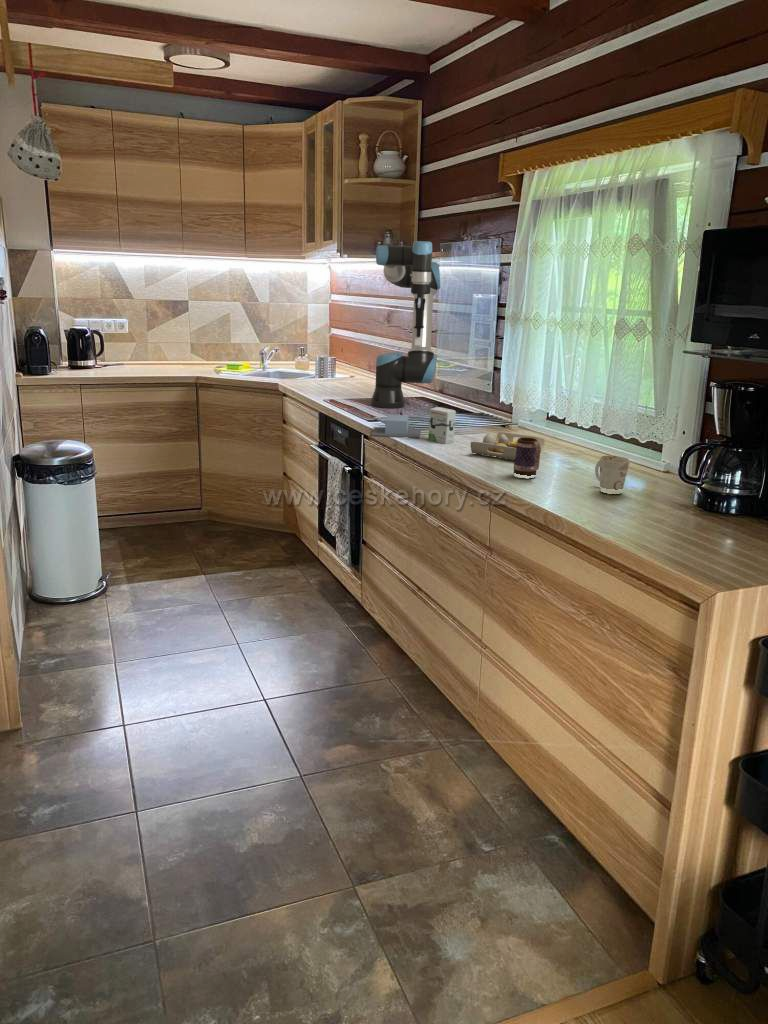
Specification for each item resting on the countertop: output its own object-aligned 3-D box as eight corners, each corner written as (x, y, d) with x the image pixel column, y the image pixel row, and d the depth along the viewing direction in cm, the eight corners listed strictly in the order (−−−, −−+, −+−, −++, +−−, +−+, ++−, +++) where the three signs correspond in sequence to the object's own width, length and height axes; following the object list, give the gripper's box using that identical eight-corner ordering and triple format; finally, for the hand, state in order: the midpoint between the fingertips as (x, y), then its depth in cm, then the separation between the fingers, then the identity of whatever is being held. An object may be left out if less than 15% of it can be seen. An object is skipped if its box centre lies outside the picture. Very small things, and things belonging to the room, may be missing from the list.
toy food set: (519, 464, 259) (521, 441, 257) (468, 456, 268) (470, 434, 265) (545, 450, 280) (547, 429, 278) (497, 443, 288) (499, 422, 286)
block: (388, 414, 305) (385, 420, 293) (408, 415, 304) (406, 421, 293) (387, 427, 306) (385, 433, 295) (408, 428, 306) (406, 434, 294)
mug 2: (508, 474, 245) (511, 436, 241) (529, 473, 247) (532, 435, 244) (524, 482, 236) (528, 443, 232) (545, 481, 238) (549, 442, 234)
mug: (608, 497, 223) (612, 463, 220) (581, 486, 234) (584, 453, 231) (631, 495, 227) (636, 461, 224) (603, 483, 237) (607, 451, 234)
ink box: (427, 440, 288) (429, 408, 285) (436, 438, 292) (437, 406, 288) (446, 444, 283) (447, 411, 279) (454, 442, 286) (456, 410, 282)
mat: (374, 428, 306) (374, 427, 305) (420, 430, 304) (421, 429, 304) (370, 436, 292) (370, 434, 292) (419, 438, 291) (419, 437, 291)
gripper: (412, 282, 312) (410, 342, 320) (409, 283, 300) (407, 346, 308) (431, 282, 312) (428, 343, 319) (429, 284, 299) (426, 347, 307)
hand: (418, 344), depth 314 cm, fingers closed
